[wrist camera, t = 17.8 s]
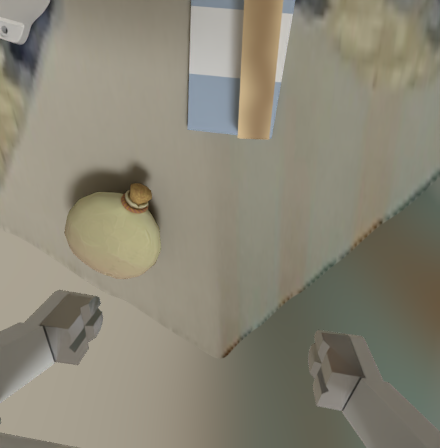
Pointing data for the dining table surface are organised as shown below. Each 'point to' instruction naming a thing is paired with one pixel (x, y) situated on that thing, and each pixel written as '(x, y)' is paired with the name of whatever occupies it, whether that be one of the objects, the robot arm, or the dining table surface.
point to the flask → (115, 232)
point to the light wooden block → (258, 66)
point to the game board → (223, 64)
